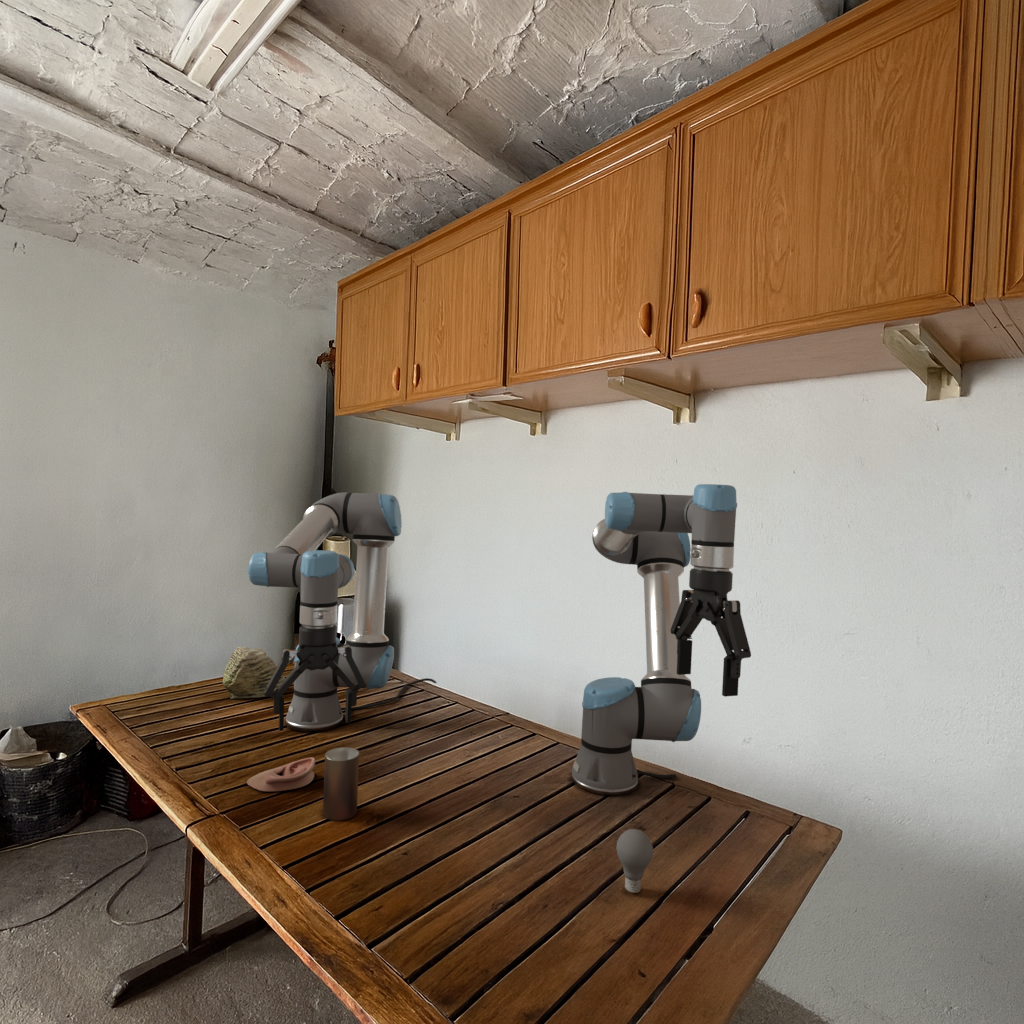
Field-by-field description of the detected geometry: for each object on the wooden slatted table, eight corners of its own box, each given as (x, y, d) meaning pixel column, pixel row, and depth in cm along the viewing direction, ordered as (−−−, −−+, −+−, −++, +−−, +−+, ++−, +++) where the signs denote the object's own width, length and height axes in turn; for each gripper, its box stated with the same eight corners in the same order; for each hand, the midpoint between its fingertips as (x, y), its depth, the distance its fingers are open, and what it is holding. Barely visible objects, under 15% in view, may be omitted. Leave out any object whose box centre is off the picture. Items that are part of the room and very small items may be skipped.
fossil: (218, 695, 195) (220, 647, 195) (278, 685, 208) (279, 640, 207) (228, 703, 189) (230, 653, 188) (289, 692, 201) (290, 645, 201)
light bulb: (610, 879, 108) (613, 822, 108) (644, 879, 109) (647, 822, 109) (619, 902, 102) (622, 840, 102) (655, 901, 103) (658, 840, 103)
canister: (346, 823, 124) (349, 762, 123) (316, 817, 125) (318, 757, 125) (362, 807, 130) (364, 749, 130) (333, 802, 132) (335, 745, 131)
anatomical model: (238, 769, 136) (269, 749, 147) (238, 787, 136) (269, 766, 147) (295, 777, 133) (322, 756, 144) (294, 796, 133) (321, 773, 144)
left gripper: (254, 632, 124) (251, 738, 125) (381, 625, 134) (378, 724, 135) (253, 623, 131) (250, 724, 132) (374, 618, 141) (370, 712, 142)
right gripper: (656, 561, 126) (651, 667, 127) (740, 577, 103) (733, 707, 103) (688, 561, 129) (682, 665, 129) (777, 577, 105) (770, 704, 106)
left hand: (315, 724), depth 133 cm, fingers open, 13 cm apart
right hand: (705, 684), depth 116 cm, fingers open, 13 cm apart
